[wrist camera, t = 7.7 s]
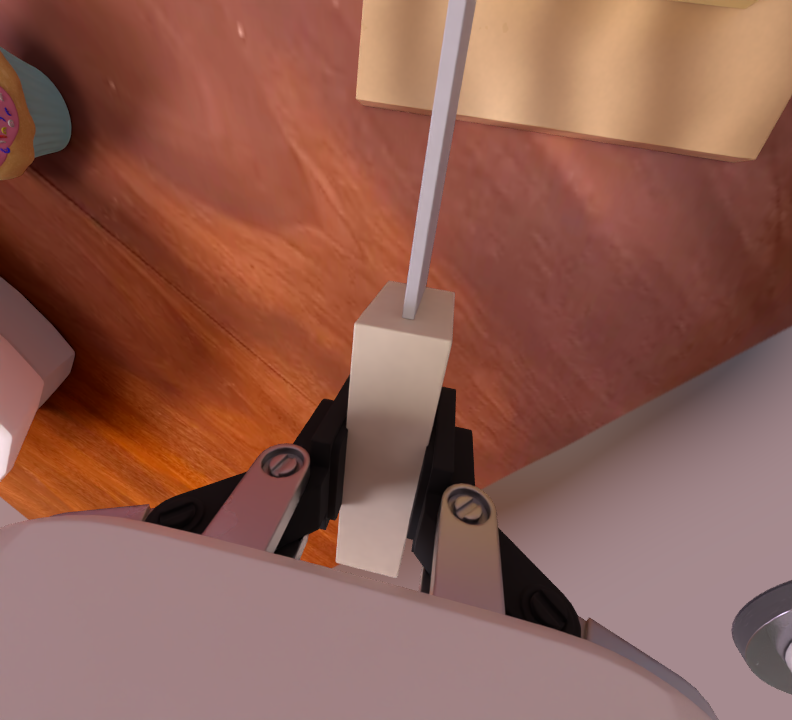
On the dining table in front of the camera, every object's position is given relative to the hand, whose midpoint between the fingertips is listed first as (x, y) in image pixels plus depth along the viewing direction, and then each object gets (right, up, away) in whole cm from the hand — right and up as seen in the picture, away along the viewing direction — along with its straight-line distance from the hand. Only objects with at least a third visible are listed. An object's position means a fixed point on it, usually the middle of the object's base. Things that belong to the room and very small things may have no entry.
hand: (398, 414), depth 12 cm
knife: (+1, +5, -1) cm, 5 cm away
